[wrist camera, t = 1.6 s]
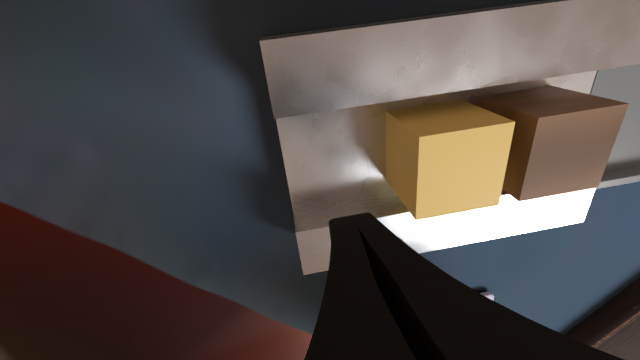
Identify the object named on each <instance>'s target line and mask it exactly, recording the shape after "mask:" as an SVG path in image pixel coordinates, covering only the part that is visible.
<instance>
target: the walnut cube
mask: <svg viewBox="0 0 640 360" xmlns="http://www.w3.org/2000/svg"><path fill="white" fill-rule="evenodd" d="M628 105H629V103H625V102H621V101H617V100H612V99H608V98H603V97H599V96H594V95H590V94H586V93H581V92H577V91H572V90H568V89H564V88H559V87H555V86H545V87H538V88H532V89H525V90H519V91H512V92H506V93H499V94H492V95H486V96H479V100H478V107H481V108H483V109H486V110H488V111H490V112H493V113H495V114H498V115H500V116H503V117H505V118H508V119H510V120H513V121H515V127H514V132H513V137H512V142H511V147H510V152H509V157H508V162H507V167H506V172H505V177H504V182H503V187H502V190H504V191H505V192H507V193H508V194H509V195H511V196H512V197H513V198H515V199H516V200H518V201H519V202H520V201H525V200H531V199H536V198H542V197H547V196H553V195H558V194H564V193H569V192H575V191H580V190H586V189H591V188H597V187H598V186H599V184H600V181H601V178H602V176H603V173H604V170H605V167H606V165H607V162H608V159H609V157H610V154H611V151H612V149H613V146H614V143H615V141H616V138H617V135H618V132H619V130H620V127H621V124H622V122H623V119H624V116H625V114H626V111H627V108H628Z"/></svg>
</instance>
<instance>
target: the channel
mask: <svg viewBox="0 0 640 360" xmlns="http://www.w3.org/2000/svg"><path fill="white" fill-rule="evenodd" d="M259 42H260V47H261V52H262V58H263V63H264V68H265V74H266V79H267V84H268V90H269V95H270V100H271V106H272V111H273V116H274V119H276V122H277V128H278V133H279V139H280V144H281V149H282V155H283V160H284V166H285V171H286V176H287V182H288V187H289V192H290V198H291V203H292V209H293V216H294V224H295V233H296V238H297V243H298V249H299V254H300V259H301V265H302V270H303V275H307V274H312V273H317V272H323V271H328V270H329V262H330V251H331V239H330V231H329V223H328V222H329V221H330V220H331V219H333V218H339V217H344V216H350V215H355V214H361V213H367V212H369V213H371V214H372V215H373V216H374V217H375V218H377V219H378V220H379V221H380V222H381V223H382V224H383V225H384V226H386V227H387V228H388V229H389V230H390V231H391V232H393V233H394V234H395V235H396V236H397V237H399V238H400V239H401V240H402V241H403V242H405V243H406V244H407V245H409V246H410V247H411V248H412V249H414V250H415V251H416V252H417V253H423V252H428V251H433V250H439V249H444V248H449V247H454V246H460V245H465V244H470V243H475V242H481V241H486V240H491V239H497V238H502V237H507V236H512V235H518V234H523V233H528V232H534V231H539V230H544V229H549V228H555V227H560V226H565V225H570V224H576V223H581V222H584V219H585V217H586V214H587V211H588V208H589V206H590V203H591V200H592V198H593V195H594V192H595V189H596V188H591V189H586V190H580V191H575V192H569V193H564V194H558V195H553V196H547V197H542V198H536V199H531V200H525V201H520V202H519V201H518V200H516V199H515V198H513V197H512V196H511V195H509V194H508V193H507V192H505V191H504V190H502V192H501V197H500V202H499V205H498V206H492V207H487V208H481V209H476V210H470V211H465V212H459V213H453V214H448V215H442V216H437V217H431V218H426V219H420V220H415V219H414V217H413V216H412V215H411V213H410V212H409V211H408V209H407V208H406V207H405V205H404V204H403V202H402V201H401V200H400V198H399V197H398V196H397V194H396V193H395V191H394V190H393V189H392V187H391V186H390V185H389V183H388V182H387V180H386V111H388V110H394V109H401V108H407V107H414V106H421V105H427V104H434V103H440V102H447V101H453V100H460V99H461V100H463V101H466V102H468V103H471V104H473V105H476V106H478V100H479V96H486V95H492V94H499V93H506V92H512V91H519V90H525V89H532V88H538V87H545V86H555V87H559V88H564V89H568V90H572V91H577V92H581V93H586V94H590V91H591V88H592V85H593V81H594V78H595V75H596V72H597V70H603V69H609V68H616V67H623V66H629V65H636V64H640V0H541V1H533V2H526V3H518V4H510V5H503V6H495V7H487V8H480V9H472V10H464V11H457V12H449V13H441V14H434V15H426V16H418V17H411V18H403V19H395V20H388V21H380V22H372V23H365V24H357V25H349V26H342V27H334V28H327V29H319V30H311V31H304V32H296V33H288V34H281V35H273V36H265V37H262V38H261V39H260V41H259Z"/></svg>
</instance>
